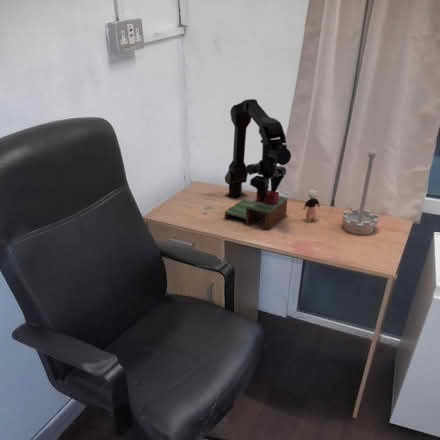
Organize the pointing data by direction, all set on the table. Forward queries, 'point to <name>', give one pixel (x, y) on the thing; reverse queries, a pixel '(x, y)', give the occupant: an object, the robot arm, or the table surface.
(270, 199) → the red rectangular block
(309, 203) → the grandmother figurine
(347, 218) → the flag stand
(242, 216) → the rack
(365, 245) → the table surface
